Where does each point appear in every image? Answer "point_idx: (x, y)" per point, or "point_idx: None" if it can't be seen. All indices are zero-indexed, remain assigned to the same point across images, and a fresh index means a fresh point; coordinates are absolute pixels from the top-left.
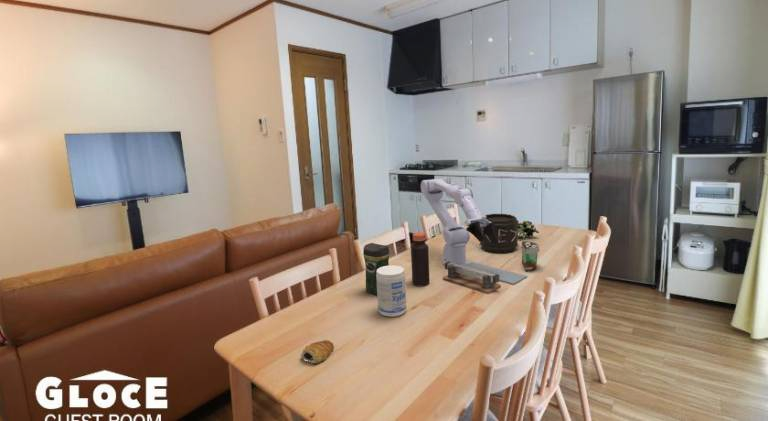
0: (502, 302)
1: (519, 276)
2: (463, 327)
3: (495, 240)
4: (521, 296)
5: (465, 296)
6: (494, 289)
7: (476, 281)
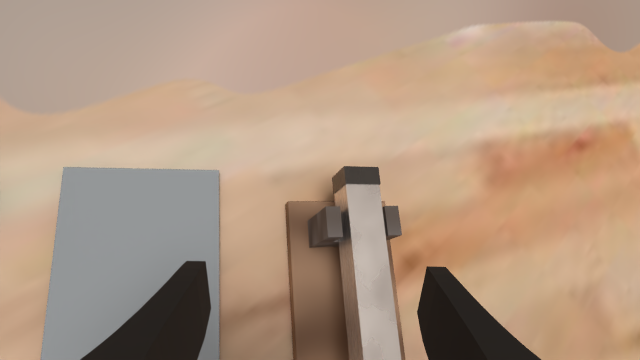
0: (396, 126)
1: (103, 193)
2: (582, 134)
3: (206, 272)
4: (305, 96)
5: (459, 261)
6: None
7: (336, 318)
